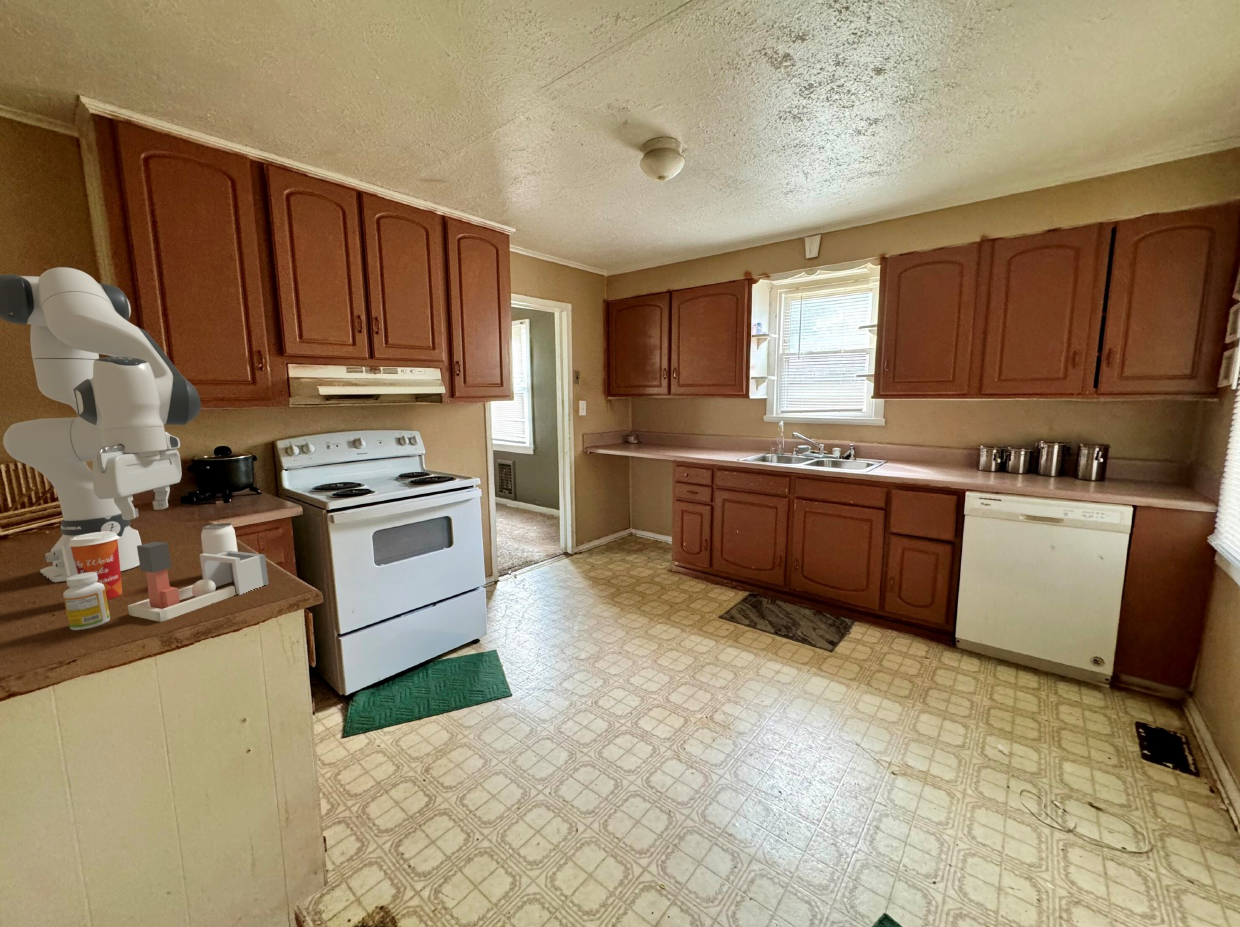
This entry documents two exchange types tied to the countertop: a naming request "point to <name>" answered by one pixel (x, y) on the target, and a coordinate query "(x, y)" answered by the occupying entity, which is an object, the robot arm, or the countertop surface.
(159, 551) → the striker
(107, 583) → the paper cup
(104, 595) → the supplement bottle
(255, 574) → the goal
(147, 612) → the white flat open frame
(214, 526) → the can
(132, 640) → the countertop surface
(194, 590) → the ball
